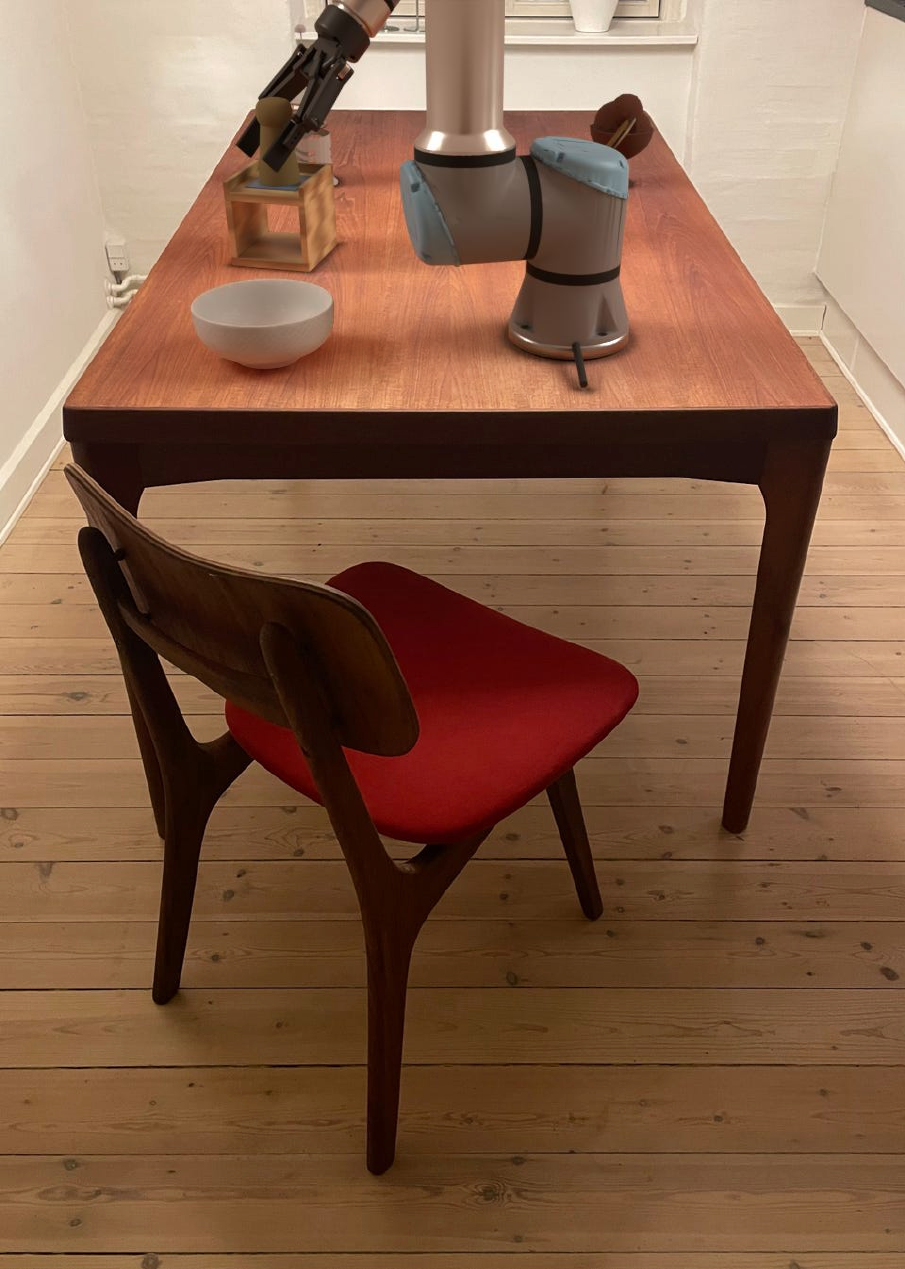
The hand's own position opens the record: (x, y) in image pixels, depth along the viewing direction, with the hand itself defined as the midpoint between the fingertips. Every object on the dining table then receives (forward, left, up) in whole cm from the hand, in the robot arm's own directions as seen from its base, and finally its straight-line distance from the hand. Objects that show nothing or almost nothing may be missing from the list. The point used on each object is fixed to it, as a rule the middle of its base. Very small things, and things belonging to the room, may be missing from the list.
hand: (256, 158), depth 158 cm
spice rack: (+2, -2, -14) cm, 14 cm away
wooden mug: (+21, -44, -14) cm, 51 cm away
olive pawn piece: (+2, -2, -4) cm, 5 cm away
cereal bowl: (-34, -13, -14) cm, 39 cm away
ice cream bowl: (+53, -46, -14) cm, 72 cm away
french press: (+41, +8, -14) cm, 44 cm away
